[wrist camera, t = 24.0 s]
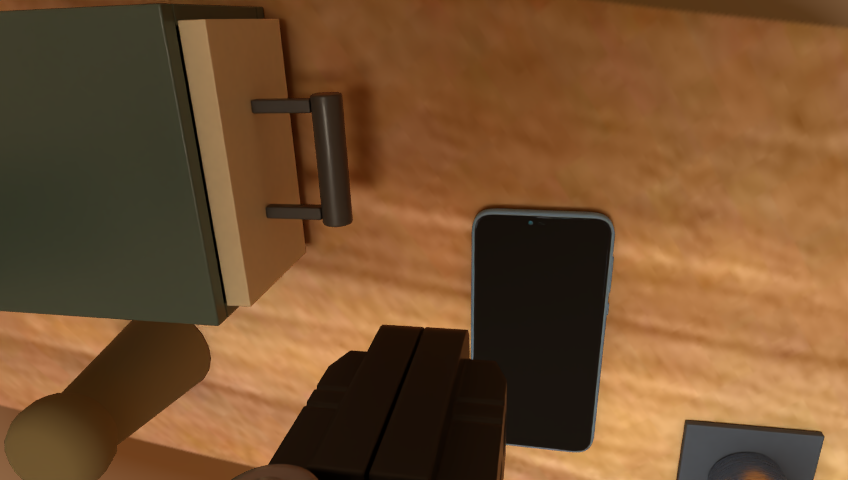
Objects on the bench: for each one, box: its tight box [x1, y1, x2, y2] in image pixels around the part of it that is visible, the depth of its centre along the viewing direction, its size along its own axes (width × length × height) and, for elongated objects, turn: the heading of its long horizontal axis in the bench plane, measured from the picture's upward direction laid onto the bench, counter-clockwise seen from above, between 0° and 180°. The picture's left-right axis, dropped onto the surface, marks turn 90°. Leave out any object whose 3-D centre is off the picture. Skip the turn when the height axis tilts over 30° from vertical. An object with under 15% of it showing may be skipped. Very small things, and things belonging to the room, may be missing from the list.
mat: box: [677, 420, 824, 480], centre depth 33 cm, size 7×7×1 cm
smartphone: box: [471, 208, 615, 452], centre depth 32 cm, size 7×1×15 cm
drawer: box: [177, 19, 353, 307], centre depth 28 cm, size 17×12×7 cm
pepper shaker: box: [4, 320, 211, 480], centre depth 33 cm, size 6×6×11 cm
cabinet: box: [0, 3, 264, 326], centre depth 29 cm, size 14×14×9 cm
